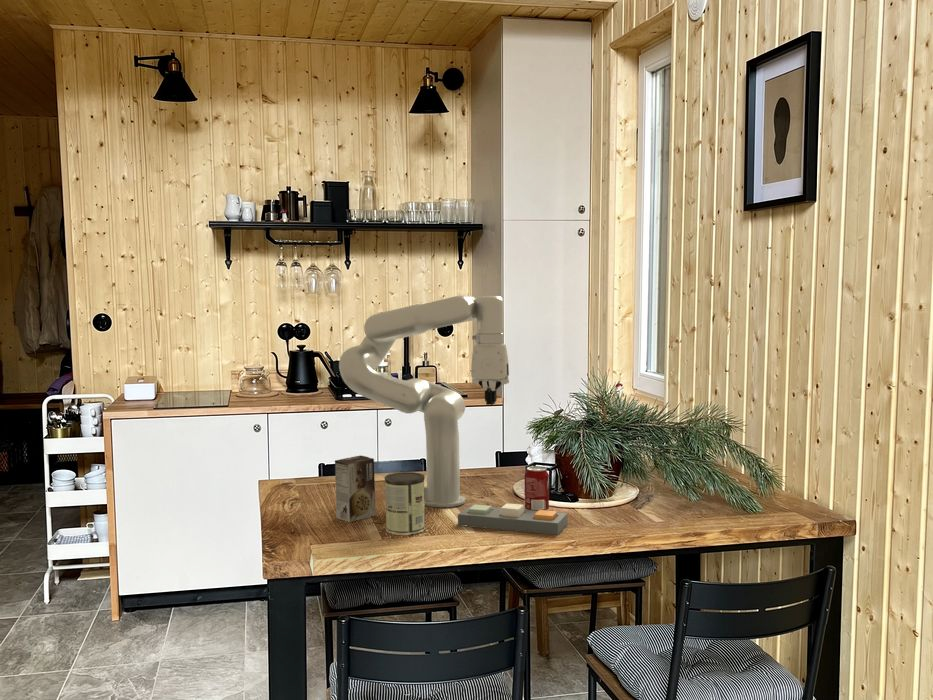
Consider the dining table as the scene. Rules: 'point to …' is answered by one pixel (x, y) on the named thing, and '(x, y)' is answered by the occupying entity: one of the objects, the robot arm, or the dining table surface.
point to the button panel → (513, 521)
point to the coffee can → (405, 503)
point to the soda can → (536, 488)
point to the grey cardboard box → (355, 488)
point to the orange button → (545, 515)
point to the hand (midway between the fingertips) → (490, 404)
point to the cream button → (512, 510)
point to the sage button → (480, 509)
